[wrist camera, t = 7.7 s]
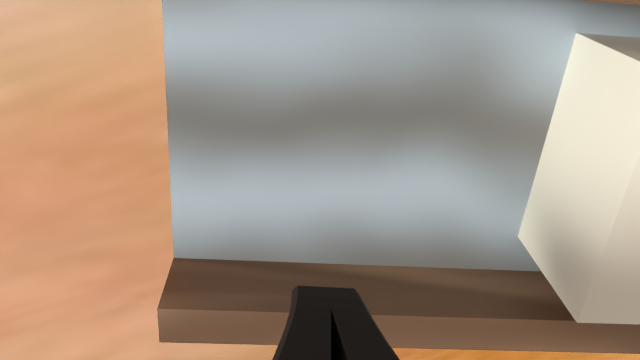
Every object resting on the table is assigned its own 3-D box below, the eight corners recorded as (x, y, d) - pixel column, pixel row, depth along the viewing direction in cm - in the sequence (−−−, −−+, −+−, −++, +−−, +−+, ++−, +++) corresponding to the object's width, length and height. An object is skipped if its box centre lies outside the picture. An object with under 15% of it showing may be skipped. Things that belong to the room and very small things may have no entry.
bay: (706, 292, 25) (776, 357, 21) (179, 273, 23) (159, 342, 19) (869, -38, 19) (1006, -24, 15) (164, -102, 17) (131, -103, 13)
